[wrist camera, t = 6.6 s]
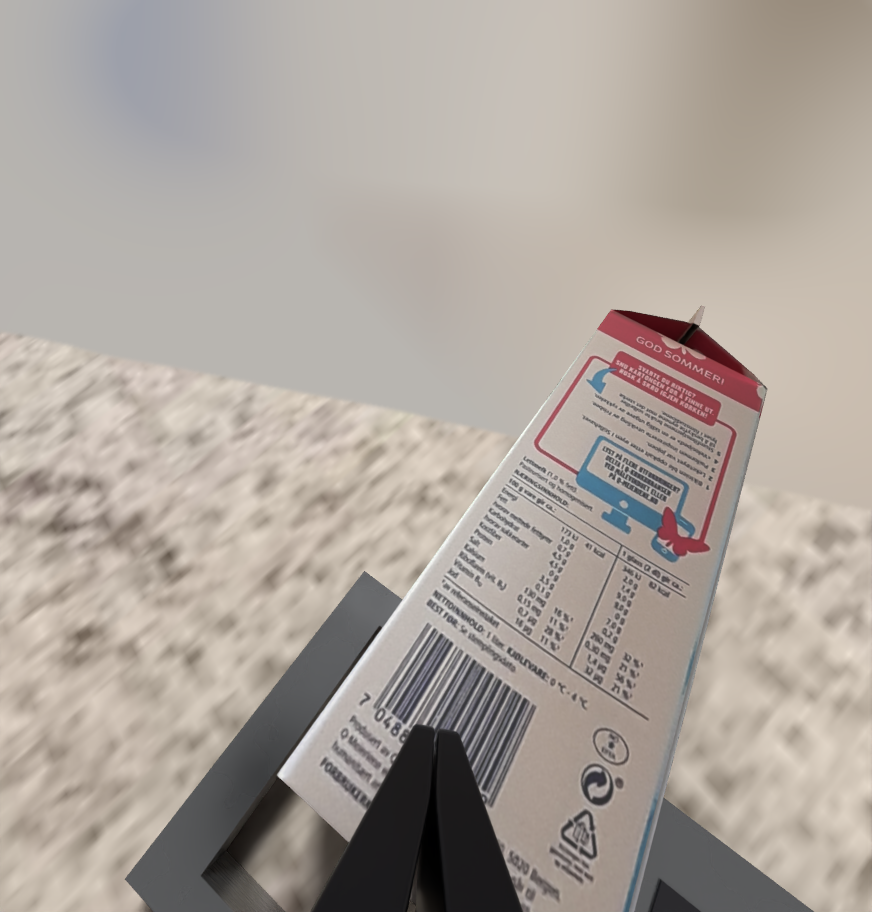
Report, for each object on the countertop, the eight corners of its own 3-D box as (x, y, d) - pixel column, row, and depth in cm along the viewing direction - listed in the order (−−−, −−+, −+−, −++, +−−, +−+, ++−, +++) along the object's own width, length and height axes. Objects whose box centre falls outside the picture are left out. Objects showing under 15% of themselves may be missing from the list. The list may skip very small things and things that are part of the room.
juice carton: (276, 775, 8) (636, 274, 19) (314, 755, 13) (576, 376, 25) (594, 1072, 6) (780, 342, 18) (490, 913, 12) (682, 433, 23)
